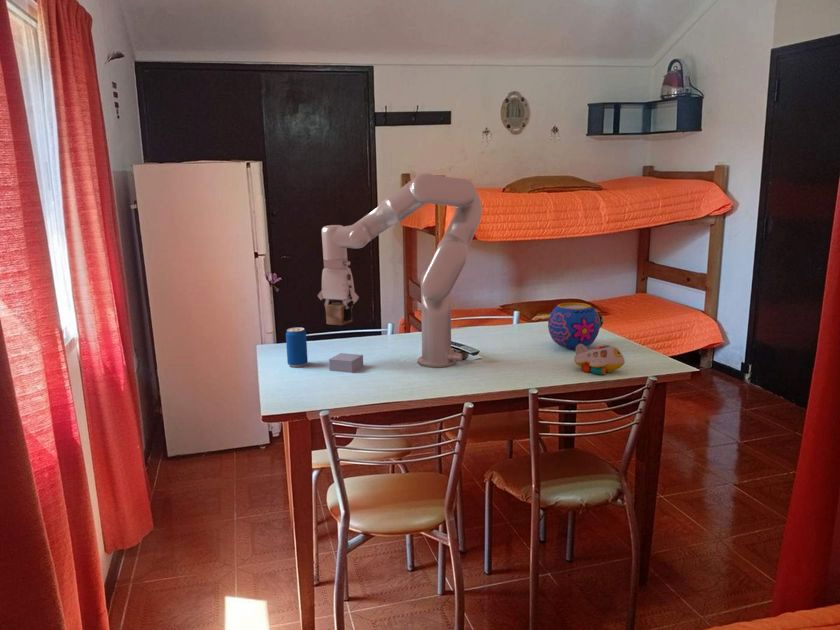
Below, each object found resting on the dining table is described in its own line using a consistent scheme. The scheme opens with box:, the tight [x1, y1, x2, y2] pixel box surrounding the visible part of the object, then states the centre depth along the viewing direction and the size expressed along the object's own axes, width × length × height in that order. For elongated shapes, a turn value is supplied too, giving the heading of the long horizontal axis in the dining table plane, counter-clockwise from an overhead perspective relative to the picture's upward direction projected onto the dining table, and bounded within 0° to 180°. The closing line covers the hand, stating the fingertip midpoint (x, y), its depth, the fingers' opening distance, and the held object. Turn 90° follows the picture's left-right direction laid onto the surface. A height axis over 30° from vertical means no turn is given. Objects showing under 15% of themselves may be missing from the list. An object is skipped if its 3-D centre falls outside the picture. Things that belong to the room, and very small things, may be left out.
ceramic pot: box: [547, 302, 604, 350], centre depth 233 cm, size 18×18×15 cm
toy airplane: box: [573, 344, 626, 375], centre depth 206 cm, size 13×9×15 cm
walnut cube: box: [324, 301, 354, 326], centre depth 216 cm, size 6×6×6 cm
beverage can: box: [285, 326, 309, 368], centre depth 218 cm, size 6×6×12 cm
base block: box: [328, 352, 364, 374], centre depth 214 cm, size 8×8×4 cm
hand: (339, 319), depth 217 cm, fingers closed on walnut cube, 6 cm apart
